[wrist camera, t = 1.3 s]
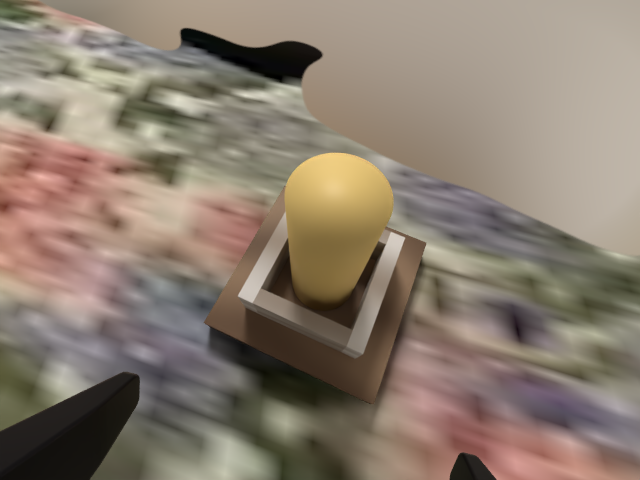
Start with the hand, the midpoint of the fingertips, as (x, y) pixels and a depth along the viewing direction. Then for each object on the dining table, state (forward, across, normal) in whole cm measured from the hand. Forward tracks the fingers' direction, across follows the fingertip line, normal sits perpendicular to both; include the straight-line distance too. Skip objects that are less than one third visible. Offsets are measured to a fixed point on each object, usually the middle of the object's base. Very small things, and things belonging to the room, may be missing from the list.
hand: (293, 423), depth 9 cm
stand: (+15, 0, +3) cm, 16 cm away
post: (+14, 0, +2) cm, 14 cm away
